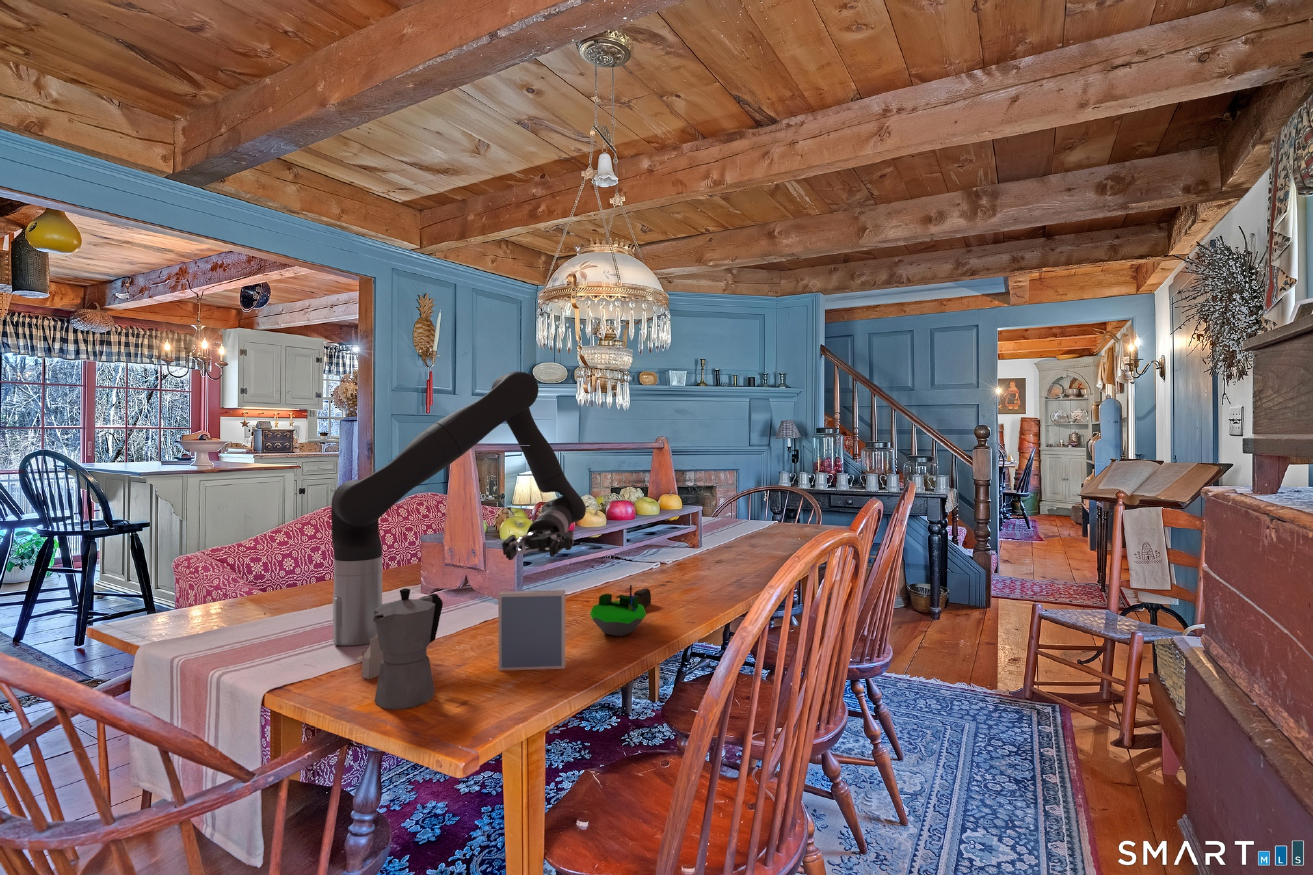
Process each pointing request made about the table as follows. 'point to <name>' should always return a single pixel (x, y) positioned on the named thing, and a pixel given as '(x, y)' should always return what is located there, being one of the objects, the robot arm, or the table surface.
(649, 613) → the table surface
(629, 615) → the floating island model
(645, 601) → the hand tool
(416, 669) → the coffeepot
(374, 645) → the architectural model
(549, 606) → the tile
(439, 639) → the table surface
